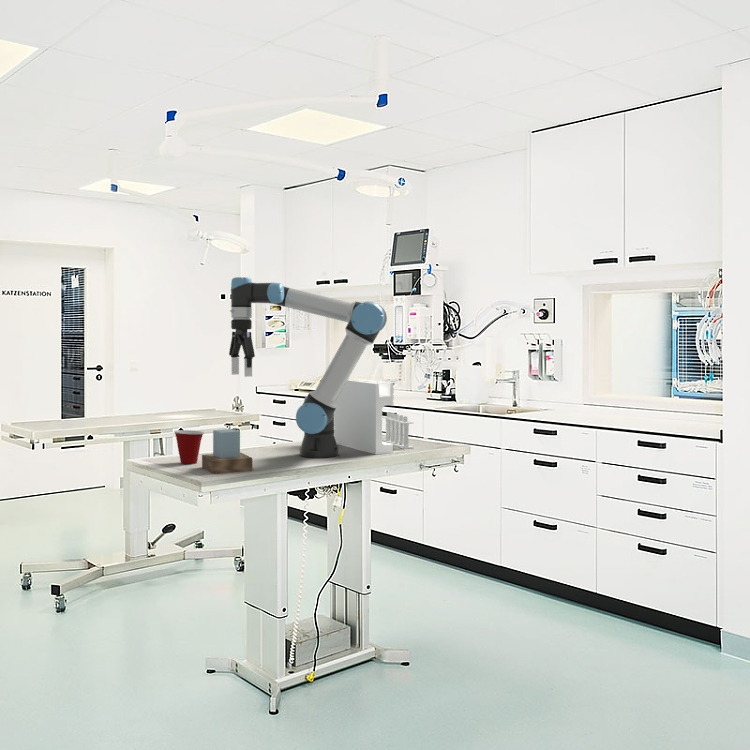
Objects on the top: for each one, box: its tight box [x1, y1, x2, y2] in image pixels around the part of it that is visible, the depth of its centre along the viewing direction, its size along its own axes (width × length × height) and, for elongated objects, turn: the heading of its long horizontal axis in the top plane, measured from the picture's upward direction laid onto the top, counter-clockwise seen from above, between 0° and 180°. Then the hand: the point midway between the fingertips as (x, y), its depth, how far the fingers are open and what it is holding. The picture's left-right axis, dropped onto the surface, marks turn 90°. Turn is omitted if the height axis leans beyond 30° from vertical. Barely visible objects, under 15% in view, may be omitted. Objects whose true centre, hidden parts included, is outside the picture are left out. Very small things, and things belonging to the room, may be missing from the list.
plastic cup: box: [173, 429, 205, 465], centre depth 296 cm, size 11×11×12 cm
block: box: [334, 377, 395, 456], centre depth 334 cm, size 35×8×28 cm, turn 31°
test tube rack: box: [382, 411, 414, 450], centre depth 344 cm, size 25×4×13 cm, turn 22°
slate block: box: [212, 428, 241, 458], centre depth 284 cm, size 7×7×9 cm
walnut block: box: [201, 451, 253, 475], centre depth 284 cm, size 14×14×5 cm
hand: (241, 375), depth 303 cm, fingers open, 13 cm apart
